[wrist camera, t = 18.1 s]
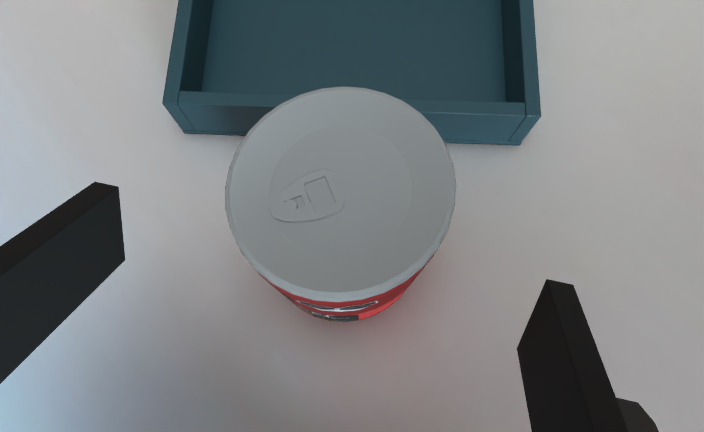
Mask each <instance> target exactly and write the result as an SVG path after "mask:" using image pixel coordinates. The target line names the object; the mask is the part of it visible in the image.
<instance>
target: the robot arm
mask: <svg viewBox="0 0 704 432" xmlns="http://www.w3.org/2000/svg"><path fill="white" fill-rule="evenodd" d="M124 261H125V253H124V242H123V231H122V221H121V210H120V199H119V188H118V187H117V186H112V185H107V184H103V183H98V182H94V183H92V184H91V185H89V186H88V187H87V188H85V189H84V190H82V191H81V192H79V193H78V194H76V195H75V196H73V197H72V198H70V199H69V200H67V201H66V202H65V203H63V204H62V205H60V206H59V207H57V208H56V209H54V210H53V211H51V212H50V213H48V214H47V215H46V216H44V217H43V218H41V219H40V220H38V221H37V222H35V223H34V224H32V225H31V226H29V227H28V228H26V229H25V230H24V231H22V232H21V233H19V234H18V235H16V236H15V237H13V238H12V239H10V240H9V241H7V242H6V243H5V244H3V245H2V246H0V384H1V383H2V382H3V381H4V380H5V379H6V378H7V377H8V376H9V375H10V374H11V373H12V372H13V371H14V370H15V369H16V368H17V367H18V366H19V365H20V364H21V363H22V362H23V361H24V360H25V359H26V358H27V357H28V356H29V355H30V354H31V353H32V352H33V351H34V350H35V349H36V348H37V347H38V346H39V345H40V344H41V343H42V342H43V341H44V340H45V339H46V338H47V337H48V336H49V335H50V334H51V333H52V332H53V331H54V330H55V329H56V328H57V327H58V326H59V325H60V324H61V323H62V322H63V321H64V320H65V319H66V318H67V317H68V316H69V315H70V314H71V313H72V312H73V311H74V310H75V309H76V308H77V307H78V306H79V305H80V304H81V303H82V302H83V301H84V300H85V299H86V298H87V297H88V296H89V295H90V294H91V293H92V292H93V291H94V290H95V289H96V288H97V287H98V286H99V285H100V284H101V283H102V282H103V281H104V280H105V279H106V278H107V277H108V276H109V275H110V274H111V273H112V272H113V271H114V270H115V269H116V268H117V267H118V266H119V265H120V264H121V263H122V262H124ZM517 351H518V357H519V363H520V368H521V374H522V379H523V385H524V390H525V396H526V401H527V407H528V413H529V418H530V424H531V429H532V432H659V431H658V429H657V427H656V425H655V423H654V421H653V420H652V419H651V418H650V417H649V415H648V414H647V413H646V412H645V411H644V409H643V408H642V407H641V406H640V405H639V403H637V402H633V401H628V400H624V399H620V398H616V397H615V394H614V392H613V389H612V386H611V384H610V381H609V378H608V376H607V373H606V371H605V368H604V365H603V363H602V360H601V357H600V355H599V352H598V349H597V347H596V344H595V341H594V339H593V336H592V333H591V331H590V328H589V326H588V323H587V320H586V318H585V315H584V312H583V310H582V307H581V304H580V302H579V299H578V296H577V294H576V291H575V289H574V286H573V285H571V284H567V283H562V282H557V281H553V280H548V279H546V282H545V284H544V286H543V289H542V291H541V293H540V296H539V298H538V300H537V303H536V305H535V307H534V310H533V312H532V314H531V317H530V319H529V321H528V324H527V326H526V328H525V331H524V333H523V335H522V338H521V340H520V342H519V345H518V347H517Z"/></svg>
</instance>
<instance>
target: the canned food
mask: <svg viewBox="0 0 704 432" xmlns="http://www.w3.org/2000/svg"><path fill="white" fill-rule="evenodd" d="M455 191H456V181H455V174H454V168H453V163H452V160H451V157H450V155H449V152H448V149H447V147H446V144H445V143H444V141H443V140H442V138H441V137H440V135H439V134H438V132H437V130H436V129H435V127H434V126H433V125H432V124H431V123H430V122H429V121H428V120H427V119H426V118H425V117H424V116H423V115H422V114H421V113H420V112H418V111H417V110H415V109H414V108H412V107H411V106H410V105H408V104H407V103H405V102H404V101H402V100H399V99H397V98H395V97H393V96H390V95H388V94H386V93H383V92H379V91H375V90H371V89H367V88H358V87H333V88H323V89H319V90H315V91H311V92H308V93H304V94H301V95H299V96H296V97H294V98H292V99H290V100H288V101H286V102H284V103H282V104H280V105H279V106H277V107H276V108H274V109H273V110H272V111H270V112H269V113H267V114H266V115H264V116H263V117H262V118H261V119H260V120H259V121H258V122H257V123H256V124H255V125H254V126H253V127H252V128H251V129H250V131H249V132H248V133H247V135H246V136H245V138H244V139H243V141H242V142H241V144H240V145H239V147H238V148H237V150H236V153H235V155H234V157H233V160H232V162H231V165H230V167H229V171H228V176H227V181H226V186H225V207H226V213H227V217H228V221H229V225H230V229H231V231H232V234H233V236H234V238H235V240H236V242H237V244H238V246H239V248H240V250H241V252H242V254H243V255H244V256H245V258H246V259H247V260H248V261H249V263H250V264H251V265H252V266H253V268H254V269H255V270H256V271H257V272H258V273H259V274H260V275H261V276H262V277H263V278H264V279H265V280H267V281H268V282H269V283H270V284H271V285H273V286H274V287H275V288H276V289H277V290H278V291H280V292H281V293H282V294H283V295H284V296H286V297H287V298H288V299H289V300H290V301H292V302H293V303H294V304H295V305H296V306H298V307H299V308H300V309H301V310H303V311H305V312H307V313H309V314H311V315H313V316H315V317H318V318H322V319H325V320H329V321H342V322H346V321H355V320H361V319H364V318H367V317H370V316H373V315H375V314H377V313H379V312H381V311H383V310H385V309H386V308H388V307H389V306H390V305H392V304H393V303H394V302H395V301H396V300H398V299H399V298H400V296H401V295H402V294H403V293H404V292H405V290H406V289H407V288H408V287H409V285H410V284H411V283H412V282H413V280H414V279H415V278H416V277H417V276H418V274H419V273H420V272H421V271H422V269H423V268H424V267H425V266H426V264H427V263H428V262H429V261H430V259H431V258H432V257H433V255H434V254H435V252H436V251H437V249H438V247H439V246H440V244H441V242H442V240H443V238H444V236H445V234H446V232H447V230H448V227H449V223H450V220H451V216H452V213H453V209H454V205H455Z"/></svg>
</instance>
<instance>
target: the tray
mask: <svg viewBox="0 0 704 432" xmlns="http://www.w3.org/2000/svg"><path fill="white" fill-rule="evenodd" d="M333 87H358V88H367V89H371V90H375V91H379V92H383V93H386V94H388V95H390V96H393V97H395V98H397V99H399V100H402V101H404V102H405V103H407V104H408V105H410V106H411V107H412V108H414V109H415V110H417V111H418V112H420V113H421V114H422V115H423V116H424V117H425V118H426V119H427V120H428V121H429V122H430V123H431V124H432V125H433V126H434V127H435V129H436V130H437V132H438V134H439V135H440V137H441V138H442V140H443V141H444V142H448V143H476V144H504V145H520V143H521V141H522V140H523V139H524V138H525V136H526V135H527V134H528V133H529V131H530V130H531V129H532V127H533V126H534V125H535V123H536V122H537V121H538V120H539V118H540V117H541V110H540V95H539V80H538V66H537V51H536V37H535V22H534V8H533V0H179V2H178V8H177V15H176V21H175V27H174V33H173V40H172V46H171V52H170V59H169V65H168V71H167V77H166V84H165V90H164V96H163V102H162V103H163V105H164V106H165V108H166V109H167V110H168V112H169V113H170V114H171V116H172V117H173V118H174V120H175V121H176V122H177V124H178V125H179V126H180V127H181V129H182V130H183V132H184V133H194V134H222V135H247V133H248V132H249V131H250V129H251V128H252V127H253V126H254V125H255V124H256V123H257V122H258V121H259V120H260V119H261V118H262V117H263V116H264V115H266V114H267V113H269V112H270V111H272V110H273V109H274V108H276V107H277V106H279V105H280V104H282V103H284V102H286V101H288V100H290V99H292V98H294V97H296V96H299V95H301V94H304V93H308V92H311V91H315V90H319V89H323V88H333Z"/></svg>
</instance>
